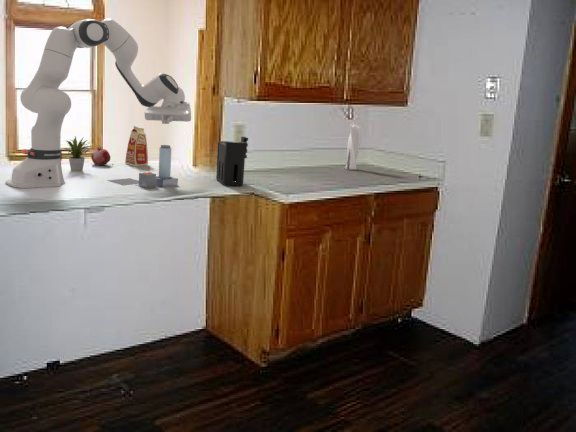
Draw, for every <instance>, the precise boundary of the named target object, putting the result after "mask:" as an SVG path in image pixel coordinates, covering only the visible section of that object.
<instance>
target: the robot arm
mask: <svg viewBox="0 0 576 432" xmlns="http://www.w3.org/2000/svg"><path fill="white" fill-rule="evenodd" d="M101 44H102V45H103V46H104V47H106V48H107V49H108V50H109V52H111V53H112V55H113V57H114V59H115V63H114V64H115V67H116V69H117V71H118V73H119V74H120V76H121V77H122V78H123V80H124V81H125V82H126V84H127V85H128V86H129V88H130V89H131V91H132V92H133V94H134V96H135V97H136V99H137V101H138V102H139V104H140V105H141V106H143V107H146V110H145V111H144V118H145V120H146V121H156V122H157V121H158V122H159V121H160V122H161V124H163V125H169V124H170V123H171V122H190V121H192V110H191V105H190V104H191V103H190V102H187V101H185V100H186V97H185V92H184V90H183V89H182V88H181V87H180V86H179V85H178V83H177V81H176V80H175V79H174V78H173V77H172V76H171V75H169V74H167V73H164V72H163V73H159V74H157V75H156V76H155V77H153V78H152V79H150V80H149V81H147V82H146V83H145V84H142V83H141V82H140V81H139V79H138V78H137V77H136V75H135V74H134V72H133V71H132V65H133V63H134V61H135V60H136V58H137V56H138V53H139V46H138V45H139V44H138V43H137V41H136V39H135V38H134V37H133V36H132V35H131V33H129V32H128V31H127V30H126V29H125V28H124V27H123V26H122V25H121V24H119V23H118V22H117V21H115V20H114V19H112V18H105V19H103V20H100V21H99V20H96V19H92V18H87V19H80V20H77V21H74V22H71V24H70V25H69V26H68V27H65V26H56V27H54V28H52V30H51V32H50V34H49V35H48V38H47V40H46V42H45V45H44V49H43V53H42V56H41V59H40V63H39V67H38V69H37V71H36V73H35V75H34V77H33V78H32V79H31V81H30V83H29V84H28V85H27V87H25V88H24V89H23V90H22V91H21V94H20V103H21V105H22V106H23V108H25V109H26V110H28V111H29V112H32V113H35V114H37V117H36V122H35V124H34V125H33V126H32V128H31V129H30V130H31V131H30V134H31V136H30V138H31V145H30V146H31V147H30V148H29V150H28V149H27V148H23V149H22V150H21V153H22V154H23V155H27V157H26V158H25V159H24V160H22V161H21V162H19V164H17V165H15V166H14V167H13V169H12V172H11V179H6V180H5V184H6V185H8V186H10V187H14V188H18V189H19V188H20V189H30V188H34V189H35V188H51V187H52V188H54V187H61V185H64V184H66V182H65V179H64V175H63V170H62V160H63V159H62V158H63V157H62V156H63V155H62V154H63V152H62V149H61V136H62V135H61V132H62V126H63V122H64V119H65V116H66V115H67V114H68V113H69V112H70V110H71V108H72V100H71V97H70V95H69V94H67V92H65V91H63V90H61V89H59V87H60V86H61V85H62V83H63V82H64V81H65V80H67V79H68V77H69V72H70V70H71V66H72V63H73V58H74V54H75V52H76V49H84V48H86V49H88V48H89V49H90V48H93V47H97V46H100V45H101ZM161 100H162V103H161V105H160V106H156V105H157V104H158V103H159V102H161Z"/></svg>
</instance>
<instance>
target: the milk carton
mask: <svg viewBox="0 0 576 432" xmlns="http://www.w3.org/2000/svg"><path fill="white" fill-rule="evenodd" d="M147 142H148V140H147V135H146V132H145V128H140V127H138V126H135V125H133V129H132V130H131V132H130V136H129V139H128V144H127V147H126V149H127V150H126V154H125V162H124V163H125V164H127V165H129V166H134V167H141V166H147V165H149V155H148V153H149V152H148V151H149V150H148V143H147Z"/></svg>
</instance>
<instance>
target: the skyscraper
mask: <svg viewBox="0 0 576 432" xmlns="http://www.w3.org/2000/svg"><path fill="white" fill-rule="evenodd" d="M349 129H350V130H349V131H350V133H349V136H348V140H347V149H346V150H347V151H346V153H347V155H346V156H347V163H346V165H345V167H342V169H344V168H345V169H344V170H346V169H347V170H346V171H358V169H357V163H356V162H357V160H358V155H359V151H360V144H361V140H360V139H361V137H360V135H361V134H360V131H361V129H362V126H361V125H357V124H355V122H354V121H352V122H350V125H349Z"/></svg>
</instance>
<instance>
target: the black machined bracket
mask: <svg viewBox="0 0 576 432" xmlns="http://www.w3.org/2000/svg"><path fill="white" fill-rule="evenodd" d="M240 138H241V139H240V140H241V141H239V142H234V141H226V140H220V141H218V142H217V158H216V159H217V160H216V175H215V176H216V180H217V182H219V183H220V184H222V185H223V186H225V185H226V186H225V187H243V186H244V177H245V163H246V159H248V155H247V153H248V145H249V144H248V141H249V137H246V136H240ZM234 181H236V182H234Z"/></svg>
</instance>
